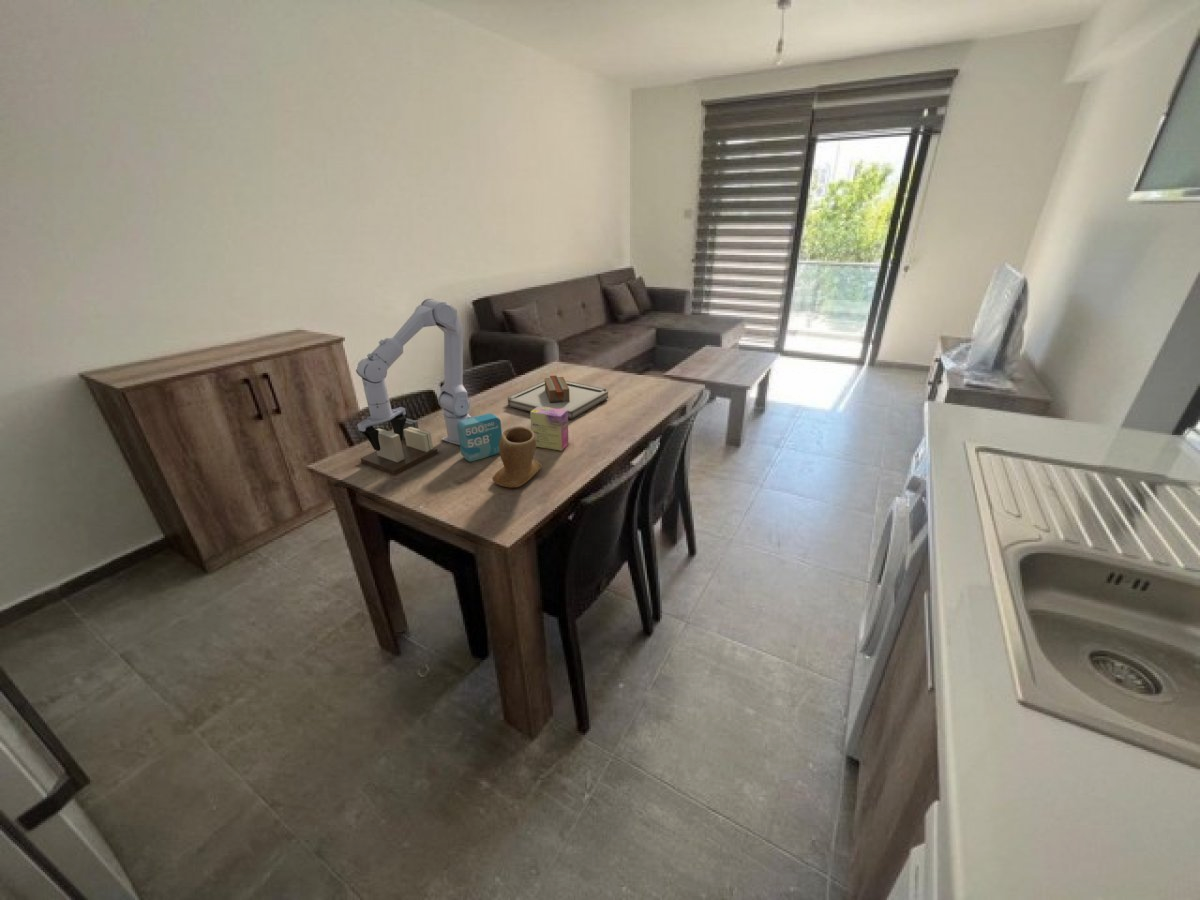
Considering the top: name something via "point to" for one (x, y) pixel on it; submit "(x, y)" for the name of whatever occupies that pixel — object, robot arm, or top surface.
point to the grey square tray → (558, 396)
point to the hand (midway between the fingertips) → (388, 444)
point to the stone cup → (517, 457)
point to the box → (550, 427)
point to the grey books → (410, 425)
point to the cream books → (418, 439)
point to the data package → (479, 436)
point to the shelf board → (410, 459)
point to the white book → (390, 446)
